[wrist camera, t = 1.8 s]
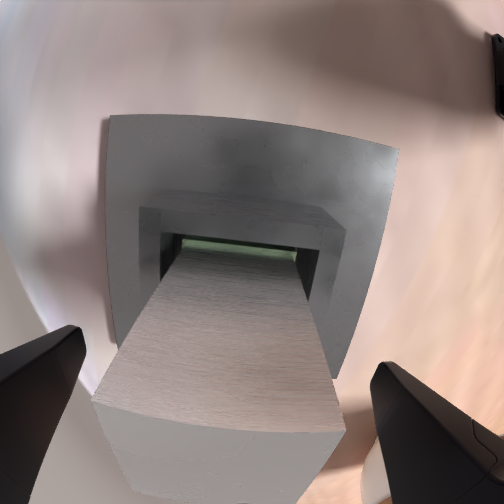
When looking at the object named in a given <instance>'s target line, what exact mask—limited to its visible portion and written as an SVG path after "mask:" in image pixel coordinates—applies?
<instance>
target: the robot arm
mask: <svg viewBox="0 0 504 504" xmlns="http://www.w3.org/2000/svg"><path fill="white" fill-rule="evenodd" d="M492 43H493V52H494V63H495V82H496V111H497V113H498V114H499V115H500V116H501V117H503V118H504V38H503V37H502V36H500V35H499V34H494V35H492ZM85 356H86V345H85V341H84V336H83V332H82V329H81V328H80V327H77V326H74V325H67V326H65V327H62V328H60V329H58V330H55V331H53V332H51V333H48V334H46V335H44V336H41V337H39V338H37V339H35V340H32V341H30V342H28V343H25V344H23V345H21V346H18V347H16V348H14V349H12V350H9V351H7V352H5V353H3V354H0V504H28V503H29V500H30V495H31V493H32V490H33V487H34V484H35V481H36V478H37V475H38V473H39V470H40V467H41V465H42V462H43V459H44V457H45V454H46V451H47V449H48V447H49V444H50V442H51V439H52V437H53V434H54V432H55V430H56V428H57V425H58V423H59V420H60V418H61V416H62V414H63V412H64V409H65V407H66V405H67V403H68V401H69V399H70V397H71V394H72V392H73V389H74V386H75V384H76V380H77V378H78V375H79V372H80V370H81V367H82V364H83V362H84V359H85ZM370 391H371V397H372V404H373V411H374V418H375V425H376V430H377V435H378V439H379V443H380V447H381V452H382V456H383V460H384V465H385V469H386V474H387V479H388V484H389V489H390V494H391V499H392V504H504V439H503V438H501V437H499V436H498V435H496V434H494V433H493V432H491V431H490V430H488V429H487V428H485V427H484V426H482V425H481V424H479V423H478V422H477V421H475V420H474V419H472V418H471V417H469V416H468V415H467V414H465V413H464V412H462V411H461V410H460V409H458V408H457V407H455V406H454V405H453V404H451V403H450V402H448V401H447V400H446V399H444V398H443V397H442V396H440V395H439V394H437V393H436V392H435V391H433V390H432V389H430V388H429V387H428V386H426V385H425V384H423V383H422V382H421V381H419V380H418V379H416V378H415V377H414V376H412V375H411V374H410V373H408V372H407V371H405V370H404V369H403V368H401V367H400V366H398V365H397V364H396V363H394V362H391V361H389V362H381V363H380V364H379V365H378V367H377V369H376V371H375V374H374V376H373V378H372V380H371V383H370Z"/></svg>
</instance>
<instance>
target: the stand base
mask: <svg viewBox="0 0 504 504" xmlns="http://www.w3.org/2000/svg"><path fill="white" fill-rule="evenodd" d="M398 153H399V149H396V148H393V147H389V146H386V145H382V144H378V143H374V142H370V141H366V140H362V139H358V138H354V137H349V136H345V135H340V134H336V133H331V132H326V131H321V130H315V129H310V128H304V127H298V126H292V125H286V124H279V123H272V122H264V121H256V120H247V119H237V118H226V117H213V116H197V115H170V114H135V115H110V121H109V131H108V143H107V157H106V180H105V229H106V252H107V267H108V279H109V289H110V298H111V307H112V315H113V322H114V329H115V335H116V341H117V347H118V350H119V348H120V347H121V345H122V343H123V342H124V340H125V338H126V337H127V335H128V333H129V332H130V330H131V328H132V327H133V325H134V323H135V322H136V320H137V318H138V317H139V315H140V313H141V312H142V310H143V309H144V307H145V305H146V304H147V302H148V301H149V299H150V297H151V296H152V294H153V293H154V291H155V290H156V288H157V286H158V285H159V283H160V282H161V280H162V279H163V277H164V276H165V274H166V273H167V271H168V270H169V268H170V267H171V265H172V263H173V262H174V260H175V259H176V257H177V256H178V254H179V253H180V251H181V250H182V239H183V238H184V236H185V235H186V234H187V235H196V236H205V237H214V238H223V239H231V240H240V241H249V242H257V243H266V244H274V245H283V246H291V247H295V249H296V251H297V254H296V260H295V265H296V268H297V271H298V274H299V277H300V280H301V283H302V286H303V289H304V292H305V295H306V298H307V301H308V304H309V307H310V310H311V313H312V316H313V319H314V322H315V326H316V329H317V332H318V335H319V338H320V342H321V345H322V348H323V351H324V355H325V358H326V361H327V364H328V368H329V371H330V374H331V378H332V379H337V376H338V374H339V371H340V369H341V366H342V364H343V361H344V359H345V356H346V353H347V351H348V348H349V345H350V343H351V340H352V337H353V334H354V331H355V329H356V326H357V323H358V320H359V317H360V314H361V311H362V308H363V305H364V301H365V298H366V295H367V292H368V288H369V285H370V282H371V278H372V275H373V271H374V267H375V264H376V260H377V256H378V252H379V249H380V245H381V240H382V236H383V232H384V228H385V223H386V219H387V214H388V210H389V205H390V200H391V195H392V189H393V184H394V178H395V172H396V166H397V160H398Z"/></svg>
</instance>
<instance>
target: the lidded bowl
mask: <svg viewBox="0 0 504 504" xmlns="http://www.w3.org/2000/svg"><path fill="white" fill-rule="evenodd" d="M360 486H361V498H362V504H392V499H391V494H390V489H389V484H388V479H387V474H386V469H385V465H384V460H383V456H382V452H381V447H380V443H379V439H378V435H377V437H376V439H375V444H374V445H373V447H372V448H371V450H370V452H369V453H368V455H367V457H366V459H365V462H364V465H363V468H362V473H361V485H360Z"/></svg>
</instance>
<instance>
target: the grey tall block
mask: <svg viewBox="0 0 504 504" xmlns="http://www.w3.org/2000/svg"><path fill="white" fill-rule="evenodd" d="M296 254H297V251H296V249H295V247H291V246H283V245H274V244H266V243H257V242H249V241H240V240H231V239H223V238H214V237H205V236H196V235H187V234H186V235H185V236H184V238H183V239H182V250H181V251H180V253H179V254H178V256H177V257H176V259H175V260H174V262H173V263H172V265H171V267H170V268H169V270H168V271H167V273H166V274H165V276H164V277H163V279H162V280H161V282H160V283H159V285H158V286H157V288H156V290H155V291H154V293H153V294H152V296H151V297H150V299H149V301H148V302H147V304H146V305H145V307H144V309H143V310H142V312H141V313H140V315H139V317H138V318H137V320H136V322H135V323H134V325H133V327H132V328H131V330H130V332H129V333H128V335H127V337H126V338H125V340H124V342H123V343H122V345H121V347H120V348H119V350H118V352H117V354H116V355H115V357H114V359H113V360H112V362H111V364H110V366H109V368H108V369H107V371H106V373H105V375H104V376H103V378H102V380H101V382H100V384H99V385H98V387H97V389H96V391H95V393H94V395H93V396H92V398H91V403H92V405H93V408H94V411H95V413H96V416H97V418H98V420H99V423H100V425H101V428H102V430H103V432H104V434H105V436H106V439H107V441H108V443H109V445H110V447H111V449H112V452H113V454H114V455H115V458H116V460H117V462H118V463H119V465H120V467H121V469H122V471H123V473H124V475H125V477H126V478H127V480H128V482H129V484H130V486H131V487H132V489H133V491H136V492H140V493H144V494H148V495H152V496H156V497H160V498H165V499H170V500H175V501H181V502H187V503H193V504H295V503H296V502H297V501H298V500H299V498H300V497H301V496H302V495H303V493H304V492H305V491H306V489H307V488H308V487H309V485H310V484H311V483H312V481H313V480H314V479H315V477H316V476H317V475H318V473H319V472H320V470H321V469H322V468H323V466H324V465H325V463H326V462H327V460H328V459H329V457H330V456H331V454H332V453H333V451H334V450H335V448H336V447H337V445H338V444H339V442H340V440H341V439H342V437H343V436H344V434H345V432H346V431H347V430H346V427H345V423H344V420H343V416H342V412H341V409H340V405H339V402H338V398H337V395H336V391H335V388H334V385H333V381H332V378H331V374H330V371H329V368H328V364H327V361H326V358H325V355H324V351H323V348H322V345H321V342H320V338H319V335H318V332H317V329H316V326H315V322H314V319H313V316H312V313H311V310H310V307H309V304H308V301H307V298H306V295H305V292H304V289H303V286H302V283H301V280H300V277H299V274H298V271H297V268H296V265H295V260H296Z"/></svg>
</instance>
